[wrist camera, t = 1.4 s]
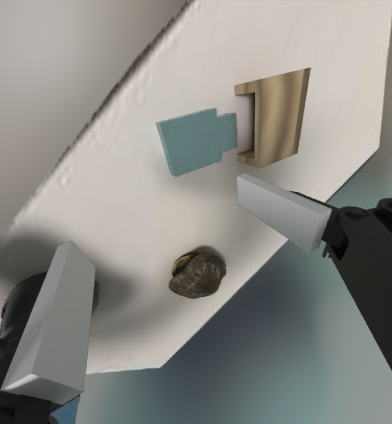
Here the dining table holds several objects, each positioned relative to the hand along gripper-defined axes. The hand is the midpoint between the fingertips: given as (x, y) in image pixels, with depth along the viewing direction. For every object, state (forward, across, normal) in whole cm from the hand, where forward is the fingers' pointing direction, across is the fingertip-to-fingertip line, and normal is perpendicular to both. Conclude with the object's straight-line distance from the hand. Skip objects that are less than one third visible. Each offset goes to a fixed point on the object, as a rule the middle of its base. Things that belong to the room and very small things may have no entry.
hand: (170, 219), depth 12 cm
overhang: (+21, +26, 0) cm, 34 cm away
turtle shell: (+22, +5, -36) cm, 42 cm away
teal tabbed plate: (+21, +12, 0) cm, 25 cm away
